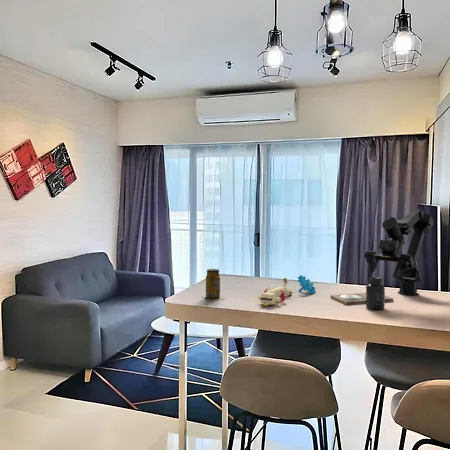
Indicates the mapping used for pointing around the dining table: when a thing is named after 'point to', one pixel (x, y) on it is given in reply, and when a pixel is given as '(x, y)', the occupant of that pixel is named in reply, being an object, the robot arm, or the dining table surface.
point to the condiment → (213, 285)
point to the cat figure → (275, 294)
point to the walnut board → (354, 298)
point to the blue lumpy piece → (306, 284)
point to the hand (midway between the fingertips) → (381, 275)
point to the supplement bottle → (375, 294)
